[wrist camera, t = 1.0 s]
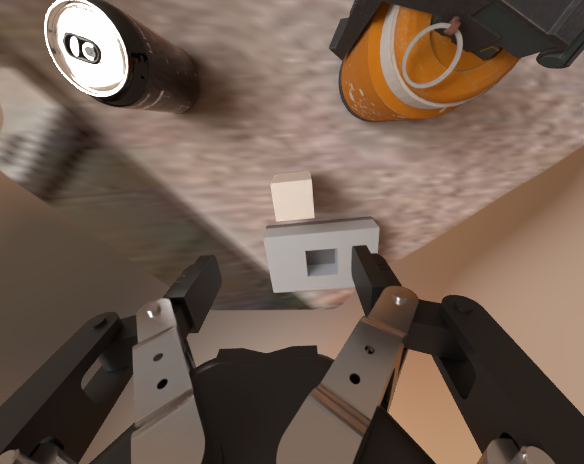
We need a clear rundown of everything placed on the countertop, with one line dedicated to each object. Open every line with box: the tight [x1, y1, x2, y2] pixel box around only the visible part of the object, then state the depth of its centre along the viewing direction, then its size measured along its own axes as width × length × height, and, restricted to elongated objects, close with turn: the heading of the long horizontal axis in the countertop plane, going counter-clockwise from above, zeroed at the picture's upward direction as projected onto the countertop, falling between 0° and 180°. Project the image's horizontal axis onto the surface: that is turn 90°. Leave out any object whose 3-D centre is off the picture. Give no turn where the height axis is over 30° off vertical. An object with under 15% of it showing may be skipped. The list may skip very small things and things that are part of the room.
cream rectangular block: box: [270, 171, 314, 221], centre depth 28 cm, size 4×4×8 cm
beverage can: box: [45, 0, 199, 113], centre depth 21 cm, size 7×7×12 cm
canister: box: [329, 0, 584, 121], centre depth 16 cm, size 9×11×20 cm
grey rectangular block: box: [263, 217, 379, 293], centre depth 34 cm, size 16×10×4 cm, turn 96°
